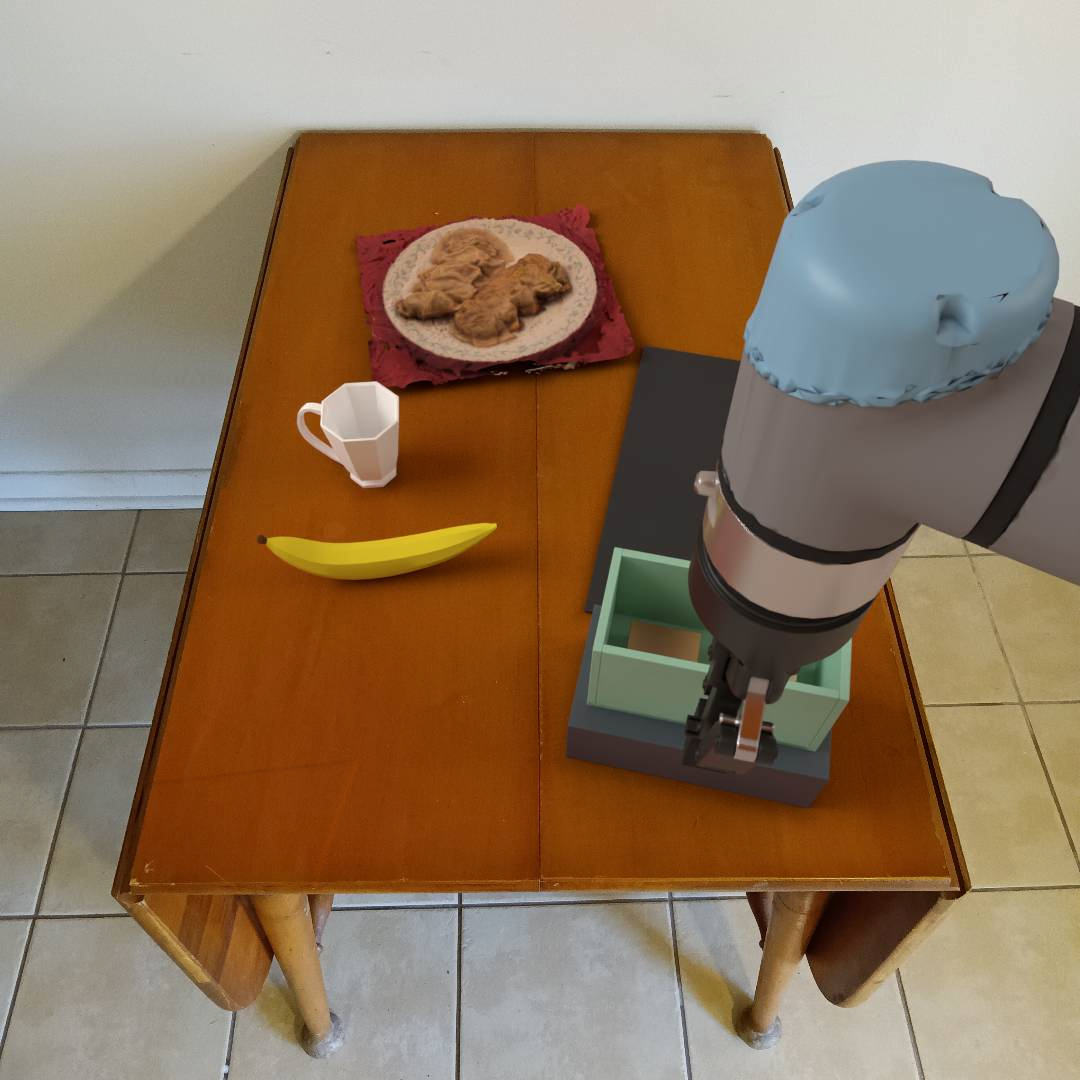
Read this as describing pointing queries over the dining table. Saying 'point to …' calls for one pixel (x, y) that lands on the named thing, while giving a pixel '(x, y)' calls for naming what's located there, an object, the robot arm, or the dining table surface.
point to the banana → (377, 552)
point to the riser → (682, 749)
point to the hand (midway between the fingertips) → (705, 757)
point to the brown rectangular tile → (664, 641)
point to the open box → (675, 684)
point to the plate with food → (488, 298)
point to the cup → (358, 431)
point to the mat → (665, 457)
